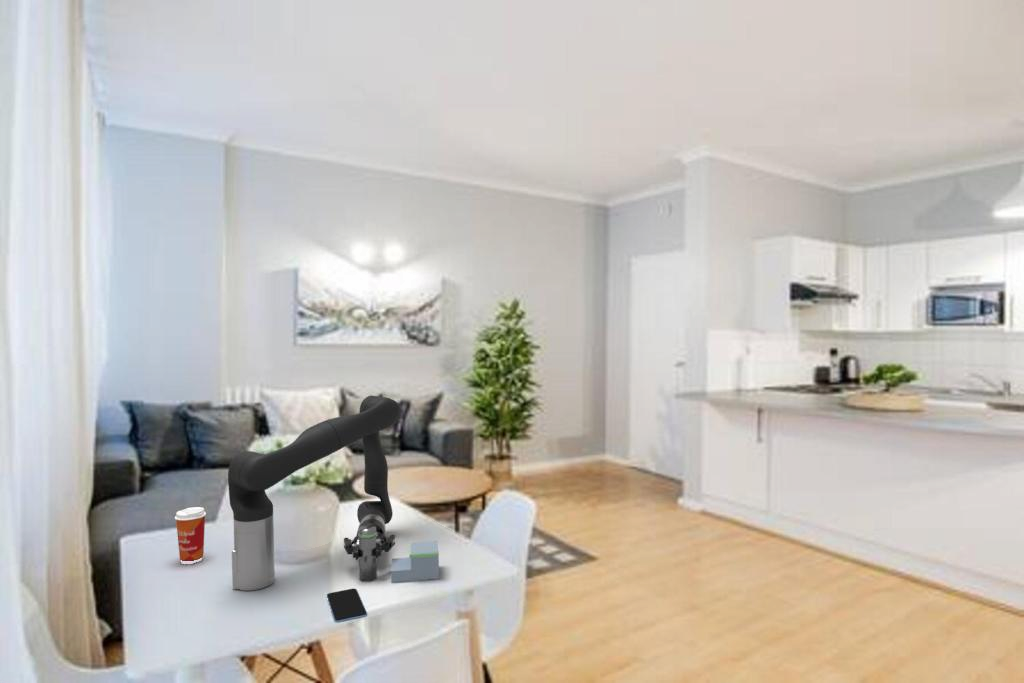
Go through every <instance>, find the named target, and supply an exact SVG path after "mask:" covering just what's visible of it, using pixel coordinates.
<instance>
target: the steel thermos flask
mask: <svg viewBox="0 0 1024 683" xmlns="http://www.w3.org/2000/svg"><path fill="white" fill-rule="evenodd" d="M358 528H359V527H358ZM358 528H357V531H359V532H358V537H359V559H358V572H359V573H358V575H359V576H358V578H359V581H360V582H363V581H366V582H365V583H368V582H367V581H369V582H372V581H375V580H376V579H377V578H378V573H377V572H378V568H377V566H378V565H377V564H378V563H377V560H378V558H376V535H377V531H376V527H375V526H373V525H366V526H362V527H360V528H359V529H358Z"/></svg>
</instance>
